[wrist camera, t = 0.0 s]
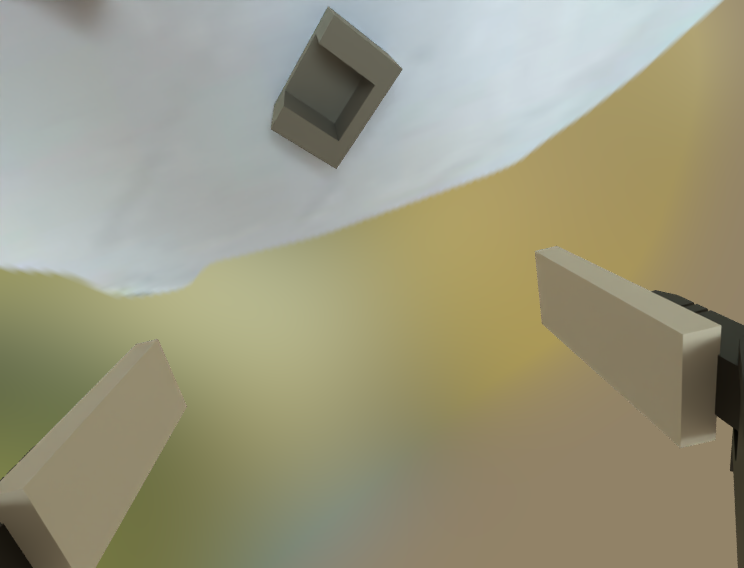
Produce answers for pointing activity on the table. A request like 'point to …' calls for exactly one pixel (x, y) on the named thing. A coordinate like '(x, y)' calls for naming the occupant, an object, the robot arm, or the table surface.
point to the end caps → (333, 89)
